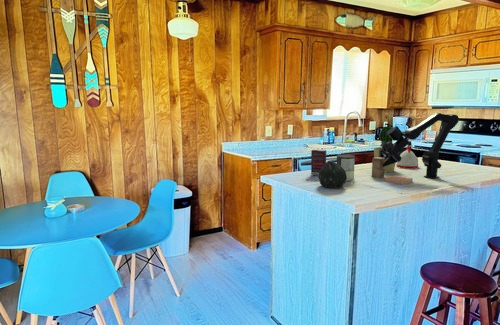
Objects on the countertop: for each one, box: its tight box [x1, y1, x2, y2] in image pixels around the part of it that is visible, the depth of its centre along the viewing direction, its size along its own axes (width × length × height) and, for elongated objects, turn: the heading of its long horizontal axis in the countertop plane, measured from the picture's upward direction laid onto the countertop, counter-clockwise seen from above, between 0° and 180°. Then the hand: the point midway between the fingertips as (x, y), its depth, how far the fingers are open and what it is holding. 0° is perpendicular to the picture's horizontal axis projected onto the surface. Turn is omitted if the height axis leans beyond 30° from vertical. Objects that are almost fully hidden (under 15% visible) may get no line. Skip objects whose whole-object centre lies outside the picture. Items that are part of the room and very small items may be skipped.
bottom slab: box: [383, 180, 415, 186], centre depth 190 cm, size 12×12×2 cm
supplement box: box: [310, 149, 327, 177], centre depth 214 cm, size 9×5×16 cm, turn 65°
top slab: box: [384, 175, 414, 185], centre depth 190 cm, size 10×10×2 cm
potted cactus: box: [373, 125, 397, 173], centre depth 227 cm, size 15×15×30 cm
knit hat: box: [396, 145, 419, 170], centre depth 242 cm, size 14×14×15 cm
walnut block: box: [371, 157, 386, 179], centre depth 203 cm, size 5×5×12 cm
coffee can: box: [336, 154, 356, 182], centre depth 202 cm, size 10×10×14 cm
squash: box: [317, 160, 347, 189], centre depth 184 cm, size 14×15×15 cm
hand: (379, 164), depth 202 cm, fingers open, 9 cm apart
